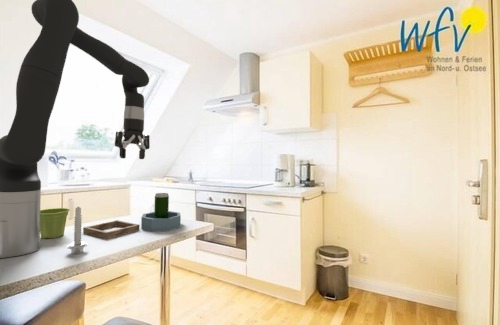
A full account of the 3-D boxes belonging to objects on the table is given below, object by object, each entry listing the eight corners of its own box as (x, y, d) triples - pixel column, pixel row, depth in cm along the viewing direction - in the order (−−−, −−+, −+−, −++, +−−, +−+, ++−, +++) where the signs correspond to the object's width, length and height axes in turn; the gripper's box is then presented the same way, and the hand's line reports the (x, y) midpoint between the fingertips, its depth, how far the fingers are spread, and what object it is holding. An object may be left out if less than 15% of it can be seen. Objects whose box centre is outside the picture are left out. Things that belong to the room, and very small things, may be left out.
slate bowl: (160, 233, 93) (160, 220, 93) (133, 227, 100) (134, 215, 100) (187, 224, 106) (187, 213, 106) (162, 220, 113) (162, 210, 113)
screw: (90, 249, 75) (80, 255, 70) (73, 249, 75) (62, 255, 70) (91, 205, 75) (81, 208, 70) (74, 204, 75) (63, 208, 70)
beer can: (157, 226, 99) (158, 195, 99) (151, 223, 103) (152, 193, 103) (170, 223, 103) (171, 194, 103) (164, 221, 107) (165, 192, 106)
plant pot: (41, 242, 80) (41, 214, 80) (29, 237, 85) (29, 211, 85) (74, 235, 88) (75, 210, 88) (61, 230, 93) (62, 207, 93)
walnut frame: (106, 239, 85) (106, 233, 85) (83, 232, 91) (83, 227, 91) (139, 230, 96) (139, 224, 96) (117, 225, 102) (117, 220, 102)
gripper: (123, 115, 96) (122, 158, 96) (154, 121, 109) (153, 159, 109) (111, 116, 100) (110, 158, 100) (142, 122, 112) (141, 159, 112)
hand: (132, 158), depth 104 cm, fingers open, 8 cm apart
